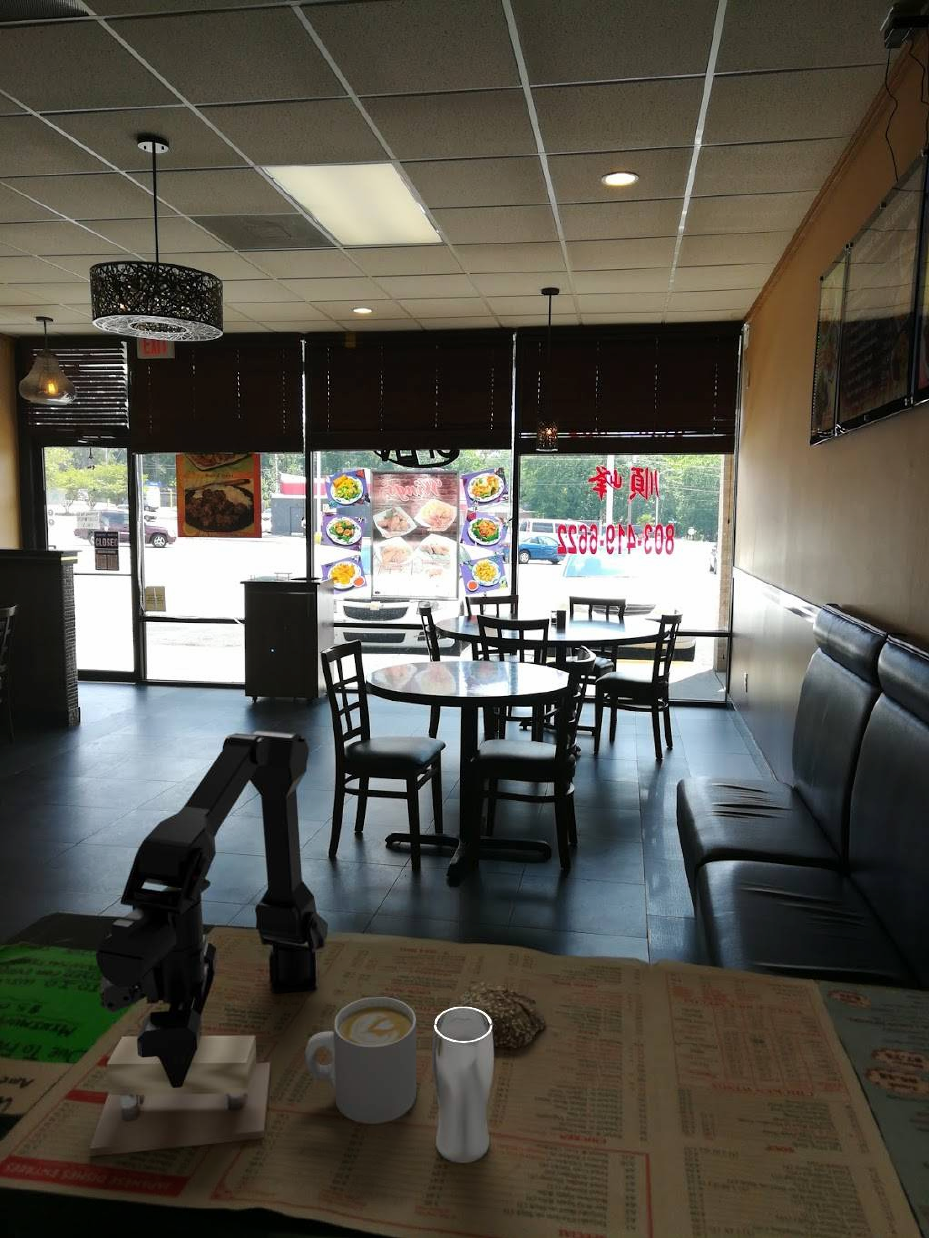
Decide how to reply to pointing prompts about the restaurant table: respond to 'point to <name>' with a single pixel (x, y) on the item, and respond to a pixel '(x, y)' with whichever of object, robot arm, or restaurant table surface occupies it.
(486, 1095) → the beer glass
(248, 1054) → the pine board
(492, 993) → the bread roll
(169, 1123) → the peg holder
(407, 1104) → the coffee mug
